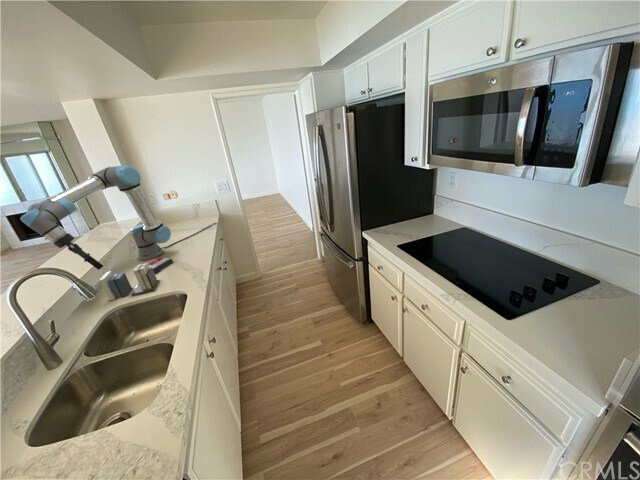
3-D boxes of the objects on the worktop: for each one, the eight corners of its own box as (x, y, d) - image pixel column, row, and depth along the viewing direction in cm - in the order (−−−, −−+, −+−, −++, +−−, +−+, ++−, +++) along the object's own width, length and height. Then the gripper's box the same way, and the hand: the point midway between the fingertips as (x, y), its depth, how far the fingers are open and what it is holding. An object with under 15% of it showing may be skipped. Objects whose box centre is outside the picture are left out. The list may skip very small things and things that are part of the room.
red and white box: (171, 257, 176) (152, 267, 163) (173, 263, 177) (155, 274, 164) (158, 257, 179) (139, 267, 166) (160, 262, 181) (141, 273, 167)
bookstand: (139, 285, 153) (129, 265, 148) (159, 281, 155) (150, 260, 150) (132, 296, 143) (121, 274, 138) (154, 291, 146) (144, 269, 140)
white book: (116, 291, 150) (106, 271, 145) (121, 290, 150) (111, 270, 145) (109, 300, 142) (99, 280, 137) (114, 299, 142) (103, 279, 137)
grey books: (121, 291, 150) (113, 274, 145) (132, 288, 151) (124, 272, 146) (116, 298, 143) (107, 281, 139) (127, 295, 145) (119, 278, 140)
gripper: (52, 242, 135) (90, 269, 146) (51, 243, 117) (95, 274, 128) (67, 232, 138) (103, 259, 149) (68, 232, 121) (109, 263, 132)
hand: (99, 266), depth 139 cm, fingers open, 13 cm apart
